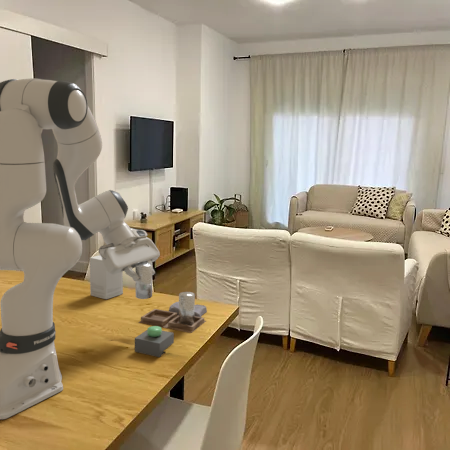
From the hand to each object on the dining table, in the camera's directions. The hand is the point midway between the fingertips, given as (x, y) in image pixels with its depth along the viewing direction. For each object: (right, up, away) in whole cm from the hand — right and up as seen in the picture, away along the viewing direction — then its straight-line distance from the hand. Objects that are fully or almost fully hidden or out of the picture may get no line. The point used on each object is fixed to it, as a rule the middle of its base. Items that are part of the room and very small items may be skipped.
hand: (145, 277), depth 137 cm
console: (+4, -19, -8) cm, 22 cm away
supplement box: (-21, -11, +37) cm, 44 cm away
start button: (+4, -18, -8) cm, 21 cm away
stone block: (+12, -15, +19) cm, 27 cm away
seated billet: (+12, -16, +8) cm, 21 cm away
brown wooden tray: (+7, -16, +10) cm, 20 cm away
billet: (-1, -6, +2) cm, 6 cm away
